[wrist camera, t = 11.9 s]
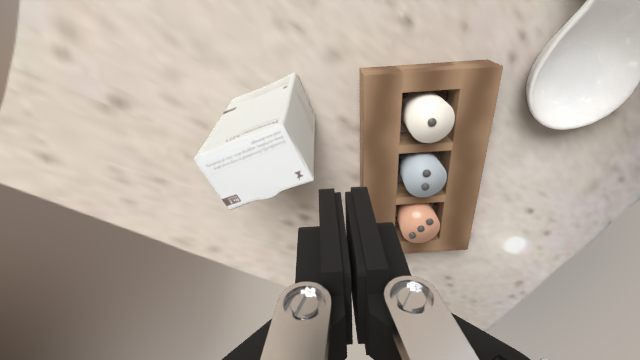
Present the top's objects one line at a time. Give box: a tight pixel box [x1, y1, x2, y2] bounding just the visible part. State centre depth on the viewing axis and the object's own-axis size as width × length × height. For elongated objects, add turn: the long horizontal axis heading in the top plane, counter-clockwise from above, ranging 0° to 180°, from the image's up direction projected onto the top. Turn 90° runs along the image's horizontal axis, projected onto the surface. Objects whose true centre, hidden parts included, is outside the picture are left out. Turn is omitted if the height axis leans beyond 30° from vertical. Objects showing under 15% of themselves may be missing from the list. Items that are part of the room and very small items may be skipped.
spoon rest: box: [526, 0, 640, 130], centre depth 33 cm, size 24×12×7 cm, turn 14°
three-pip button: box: [395, 203, 440, 243], centre depth 45 cm, size 5×5×5 cm
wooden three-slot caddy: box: [360, 60, 503, 253], centre depth 42 cm, size 14×24×4 cm, turn 4°
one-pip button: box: [401, 91, 455, 143], centre depth 38 cm, size 5×5×5 cm
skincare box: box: [194, 73, 315, 210], centre depth 34 cm, size 8×6×15 cm
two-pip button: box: [398, 152, 447, 197], centre depth 42 cm, size 5×5×5 cm
